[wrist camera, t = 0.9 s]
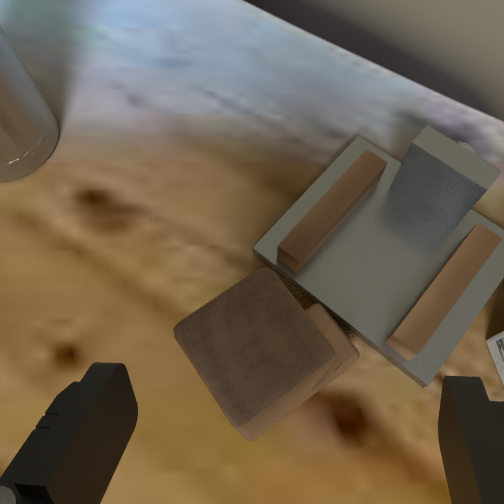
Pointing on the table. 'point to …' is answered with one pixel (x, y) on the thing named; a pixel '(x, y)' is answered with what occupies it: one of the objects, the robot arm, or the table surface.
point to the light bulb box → (497, 352)
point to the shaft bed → (397, 245)
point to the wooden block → (263, 351)
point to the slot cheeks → (437, 291)
